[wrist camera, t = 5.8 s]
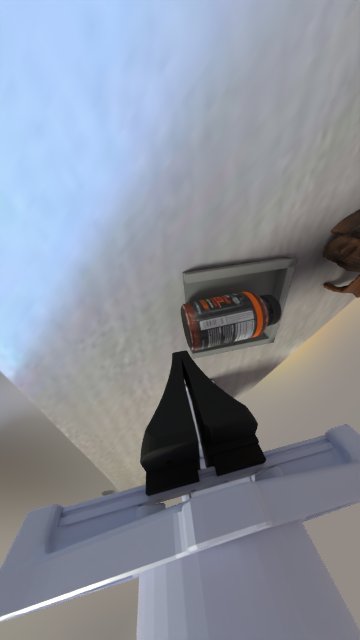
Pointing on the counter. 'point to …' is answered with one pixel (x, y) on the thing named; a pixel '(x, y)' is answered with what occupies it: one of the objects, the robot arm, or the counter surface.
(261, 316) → the supplement bottle
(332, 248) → the brown arched irregular piece
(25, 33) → the counter surface
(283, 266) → the tray
